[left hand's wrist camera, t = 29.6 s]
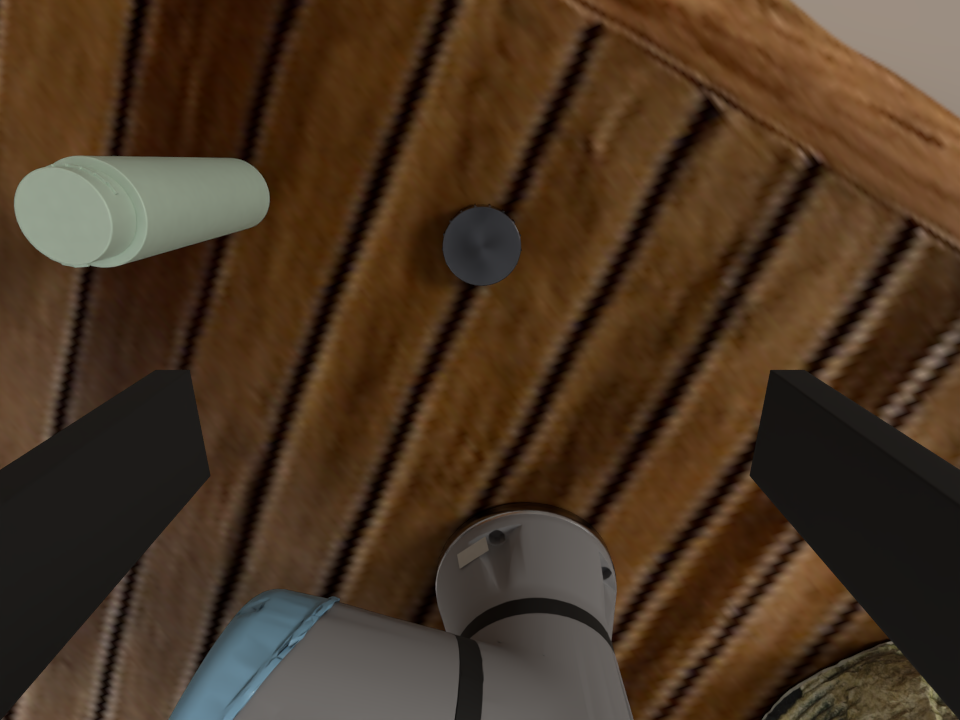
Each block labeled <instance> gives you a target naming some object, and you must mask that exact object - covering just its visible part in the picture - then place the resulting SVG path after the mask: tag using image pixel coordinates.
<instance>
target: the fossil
mask: <svg viewBox="0 0 960 720" xmlns="http://www.w3.org/2000/svg"><path fill="white" fill-rule="evenodd" d="M762 720H959V719H958V718H957V717H956V715H955V714H954V713H953V712H952V711H951V710H950V708H949V707H948V706H947V705H946V704H945V703H944V701H943V700H942V699H941V698H940V697H939V696H938V695H937V693H936V692H935V691H934V690H933V689H932V688H931V686H930V685H929V684H928V683H927V682H926V681H925V679H924V678H923V677H922V676H921V675H920V674H919V672H918V671H917V670H916V669H915V668H914V667H913V665H912V664H911V663H910V662H909V661H908V660H907V658H906V657H905V656H904V655H903V654H902V653H901V651H900V650H899V649H898V648H897V647H896V646H895V644H894V643H893V642H892V641H890V642H886V643H883V644H879V645H877V646H875V647H874V648H871V649H868V650H865V651H863V652H861V653H859V654H856V655H854V656H852V657H850V658H847V659H844V660H842V661H840V662H839V663H838V664H837V665H835V666H832V667H829V668H826V669H823V670H822V671H820V672H818V673H816V674H815V675H813V676H811V677H810V678H808V679H806V680H804V681H803V682H801V683H799V684H798V685H796V686H795V687H793V688H792V689H790V690H789V691H788V692H787V693H785V694H784V695H783V696H782V697H781V698H780V699H779V700H778V701H777V702H776V703H775V704H774V705H773V707H772V709H771V710H770V711H769V712H768V713H766V714H765V716H764V717H763V719H762Z"/></svg>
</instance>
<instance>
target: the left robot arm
mask: <svg viewBox="0 0 960 720" xmlns="http://www.w3.org/2000/svg"><path fill="white" fill-rule="evenodd" d="M209 477H210V471H209V466H208V461H207V456H206V451H205V446H204V441H203V436H202V431H201V426H200V421H199V415H198V410H197V405H196V400H195V395H194V390H193V385H192V380H191V375H190V370H155V371H153V372H152V373H150V374H149V375H147V376H146V377H144V378H143V379H141V380H139V381H138V382H136V383H135V384H133V385H132V386H130V387H128V388H127V389H125V390H124V391H122V392H121V393H119V394H118V395H116V396H114V397H113V398H111V399H110V400H108V401H107V402H105V403H104V404H102V405H100V406H99V407H97V408H96V409H94V410H93V411H91V412H90V413H88V414H86V415H85V416H83V417H82V418H80V419H79V420H77V421H76V422H74V423H72V424H71V425H69V426H68V427H66V428H65V429H63V430H62V431H60V432H58V433H57V434H55V435H54V436H52V437H51V438H49V439H48V440H46V441H44V442H43V443H41V444H40V445H38V446H37V447H35V448H34V449H32V450H30V451H29V452H27V453H26V454H24V455H23V456H21V457H20V458H18V459H16V460H15V461H13V462H12V463H10V464H9V465H7V466H6V467H4V468H2V469H1V470H0V720H1V719H2V718H3V717H4V715H5V714H6V713H7V712H8V711H9V710H10V708H11V707H12V706H13V705H14V704H15V703H16V701H17V700H18V699H19V698H20V697H21V696H22V695H23V693H24V692H25V691H26V690H27V689H28V688H29V686H30V685H31V684H32V683H33V682H34V681H35V679H36V678H37V677H38V676H39V675H40V674H41V672H42V671H43V670H44V669H45V668H46V667H47V665H48V664H49V663H50V662H51V661H52V660H53V658H54V657H55V656H56V655H57V654H58V653H59V651H60V650H61V649H62V648H63V647H64V646H65V644H66V643H67V642H68V641H69V640H70V639H71V637H72V636H73V635H74V634H75V633H76V632H77V630H78V629H79V628H80V627H81V626H82V625H83V623H84V622H85V621H86V620H87V619H88V618H89V616H90V615H91V614H92V613H93V612H94V611H95V609H96V608H97V607H98V606H99V605H100V604H101V603H102V601H103V600H104V599H105V598H106V597H107V596H108V594H109V593H110V592H111V591H112V590H113V589H114V587H115V586H116V585H117V584H118V583H119V582H120V580H121V579H122V578H123V577H124V576H125V575H126V573H127V572H128V571H129V570H130V569H131V568H132V566H133V565H134V564H135V563H136V562H137V561H138V559H139V558H140V557H141V556H142V555H143V554H144V552H145V551H146V550H147V549H148V548H149V547H150V545H151V544H152V543H153V542H154V541H155V540H156V538H157V537H158V536H159V535H160V534H161V533H162V531H163V530H164V529H165V528H166V527H167V526H168V524H169V523H170V522H171V521H172V520H173V519H174V517H175V516H176V515H177V514H178V513H179V512H180V511H181V509H182V508H183V507H184V506H185V505H186V504H187V502H188V501H189V500H190V499H191V498H192V497H193V495H194V494H195V493H196V492H197V491H198V490H199V488H200V487H201V486H202V485H203V484H204V483H205V481H206V480H207V479H208V478H209ZM750 477H751V478H752V479H753V480H754V481H755V483H756V484H757V485H758V486H759V487H760V488H761V490H762V491H763V492H764V493H765V494H766V495H767V497H768V498H769V499H770V500H771V501H772V502H773V504H774V505H775V506H776V507H777V508H778V509H779V511H780V512H781V513H782V514H783V515H784V516H785V517H786V519H787V520H788V521H789V522H790V523H791V524H792V526H793V527H794V528H795V529H796V530H797V531H798V533H799V534H800V535H801V536H802V537H803V538H804V540H805V541H806V542H807V543H808V544H809V545H810V547H811V548H812V549H813V550H814V551H815V552H816V554H817V555H818V556H819V557H820V558H821V559H822V561H823V562H824V563H825V564H826V565H827V566H828V568H829V569H830V570H831V571H832V572H833V573H834V575H835V576H836V577H837V578H838V579H839V580H840V582H841V583H842V584H843V585H844V586H845V587H846V589H847V590H848V591H849V592H850V593H851V594H852V596H853V597H854V598H855V599H856V600H857V601H858V603H859V604H860V605H861V606H862V607H863V608H864V609H865V611H866V612H867V613H868V614H869V615H870V616H871V618H872V619H873V620H874V621H875V622H876V623H877V625H878V626H879V627H880V628H881V629H882V630H883V632H884V633H885V634H886V635H887V636H888V637H889V639H890V640H891V641H892V642H893V643H894V644H895V646H896V647H897V648H898V649H899V650H900V651H901V653H902V654H903V655H904V656H905V657H906V658H907V660H908V661H909V662H910V663H911V664H912V665H913V667H914V668H915V669H916V670H917V671H918V672H919V674H920V675H921V676H922V677H923V678H924V679H925V681H926V682H927V683H928V684H929V685H930V686H931V688H932V689H933V690H934V691H935V692H936V693H937V695H938V696H939V697H940V698H941V699H942V700H943V701H944V703H945V704H946V705H947V706H948V707H949V708H950V710H951V711H952V712H953V713H954V714H955V715H956V717H957V718H958V719H959V720H960V470H959V469H958V468H956V467H954V466H953V465H951V464H950V463H948V462H947V461H945V460H944V459H942V458H940V457H939V456H937V455H936V454H934V453H933V452H931V451H930V450H928V449H926V448H925V447H923V446H922V445H920V444H919V443H917V442H916V441H914V440H912V439H911V438H909V437H908V436H906V435H905V434H903V433H902V432H900V431H898V430H897V429H895V428H894V427H892V426H891V425H889V424H888V423H886V422H884V421H883V420H881V419H880V418H878V417H877V416H875V415H874V414H872V413H870V412H869V411H867V410H866V409H864V408H863V407H861V406H860V405H858V404H856V403H855V402H853V401H852V400H850V399H849V398H847V397H846V396H844V395H842V394H841V393H839V392H838V391H836V390H835V389H833V388H832V387H830V386H828V385H827V384H825V383H824V382H822V381H821V380H819V379H817V378H816V377H814V376H813V375H811V374H810V373H808V372H807V371H805V370H770V375H769V380H768V385H767V390H766V395H765V400H764V405H763V410H762V415H761V421H760V426H759V431H758V436H757V441H756V446H755V451H754V456H753V461H752V466H751V471H750ZM436 597H437V603H438V608H439V611H440V614H441V617H442V620H443V623H444V626H445V629H446V632H445V631H442V630H438V629H434V628H430V627H427V626H423V625H419V624H415V623H412V622H408V621H404V620H400V619H396V618H393V617H389V616H385V615H382V614H378V613H375V612H372V611H368V610H365V609H361V608H358V607H354V606H351V605H347V604H344V603H340V602H339V601H340V598H337V597H333V596H332V597H329V598H323V597H318V596H314V595H309V594H304V593H300V592H295V591H290V590H286V589H272V590H268V591H265V592H263V593H261V594H259V595H257V596H256V597H254V598H253V599H251V600H250V601H249V602H248V603H247V604H246V605H244V606H243V607H242V608H241V610H240V611H239V612H238V613H237V614H236V615H235V617H234V618H233V619H232V620H231V622H230V623H229V624H228V625H227V627H226V628H225V630H224V631H223V632H222V634H221V635H220V636H219V638H218V639H217V641H216V642H215V644H214V645H213V647H212V648H211V650H210V651H209V653H208V654H207V656H206V657H205V659H204V660H203V662H202V664H201V665H200V667H199V668H198V670H197V671H196V673H195V675H194V676H193V678H192V680H191V681H190V683H189V685H188V686H187V688H186V690H185V691H184V693H183V695H182V696H181V698H180V700H179V702H178V703H177V705H176V707H175V709H174V711H173V712H172V714H171V716H170V718H169V719H168V720H633V716H632V713H631V709H630V706H629V702H628V699H627V695H626V692H625V688H624V685H623V681H622V678H621V674H620V671H619V667H618V663H617V660H616V657H615V653H614V649H613V646H612V642H611V639H612V629H613V620H614V611H615V602H616V574H615V570H614V566H613V563H612V560H611V557H610V554H609V551H608V548H607V546H606V544H605V542H604V541H603V539H602V538H601V536H600V535H599V534H598V532H597V531H596V530H595V529H594V528H593V527H592V526H591V525H590V524H588V523H587V522H586V521H585V520H583V519H582V518H580V517H579V516H577V515H575V514H573V513H571V512H569V511H567V510H564V509H562V508H559V507H555V506H551V505H547V504H540V503H514V504H507V505H503V506H498V507H495V508H492V509H489V510H487V511H484V512H482V513H480V514H478V515H476V516H474V517H473V518H471V519H470V520H468V521H467V522H465V523H464V524H463V525H462V526H461V527H459V528H458V529H457V530H456V531H455V532H454V534H453V535H452V536H451V537H450V539H449V540H448V541H447V543H446V545H445V546H444V548H443V550H442V553H441V555H440V558H439V562H438V567H437V576H436Z"/></svg>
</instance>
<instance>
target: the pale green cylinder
mask: <svg viewBox="0 0 960 720" xmlns="http://www.w3.org/2000/svg"><path fill="white" fill-rule="evenodd" d="M269 202H270V197H269V190H268V187H267V184H266V182H265V180H264V178H263V177H262V175H261V174H260V173H259V172H258V170H256V169H255V168H254V167H253V166H252V165H250V164H249V163H247V162H245V161H242V160H239V159H235V158H192V157H124V156H71V157H67V158H63V159H61V160H59V161H57V162H55V163H54V164H51V165H49V166H46V167H43V168H39V169H36V170H34V171H32V172H30V173H29V174H28V175H26V176H25V177H24V178H23V179H22V181H21V182H20V184H19V185H18V187H17V190H16V193H15V198H14V209H15V215H16V219H17V222H18V224H19V227H20V228H21V230H22V232H23V234H24V235H25V237H26V238H27V239H28V241H29V242H30V243H31V244H32V245H33V246H34V247H35V248H36V249H37V250H39V251H40V252H41V253H42V254H44V255H46V256H47V257H49V258H50V259H51V260H54V261H56V262H59V263H61V264H62V265H66V266H72V267H74V268H76V267H88V266H89V265H91V266H95V267H115V266H119V265H123V264H126V263H130V262H133V261H137V260H140V259H143V258H147V257H150V256H154V255H157V254H161V253H164V252H168V251H171V250H175V249H178V248H182V247H185V246H189V245H192V244H196V243H199V242H203V241H206V240H210V239H213V238H217V237H220V236H223V235H227V234H230V233H234V232H237V231H241V230H244V229H248V228H251V227H253V226H255V225H257V224H258V223H259V222H261V221H262V219H263V218H264V217H265V215H266V213H267V211H268V208H269Z"/></svg>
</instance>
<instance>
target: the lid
mask: <svg viewBox="0 0 960 720" xmlns="http://www.w3.org/2000/svg"><path fill="white" fill-rule="evenodd" d="M449 222H450V223H449V225H448V227H447V229H446V231H445V232H444V234H443V235H444V239H443V248H442V250H443V254H444V258H445V261H446V264H447V265H448V267H449V268H450V270H451V271H452V272H453V273H454V274H455V275H456V276H457V277H458V278H459V279H461V280H463V281H464V282H467V283H469V284H473V285H479V286H486V285H491V284H495V283H497V282H499V281H501V280H503V279H504V278H506V277H507V276H508V275H509V274H510V273H511V272H512V271H513V269H514V268H515V266H516V265H517V262H518V260H519V257H520V252H521V240H520V236H521V235H520V233H519V232H518V230H517V228H516V226H515V224H514V223H515V222H514V220H513V219H511V218H510V217H509V216H508V215H507V214H506V213H505V212H504V210H503V209H502V210H500V209H499V208H496V207H494V206H491V205H490V204H489V205H484V204H481V205H476V204H474V205H473V206H470V207H467V208H465V209H461V210H460V212H459V213H458V214H456V215H455V217H454V218H453V219H452V218H451V219H450V221H449Z"/></svg>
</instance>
